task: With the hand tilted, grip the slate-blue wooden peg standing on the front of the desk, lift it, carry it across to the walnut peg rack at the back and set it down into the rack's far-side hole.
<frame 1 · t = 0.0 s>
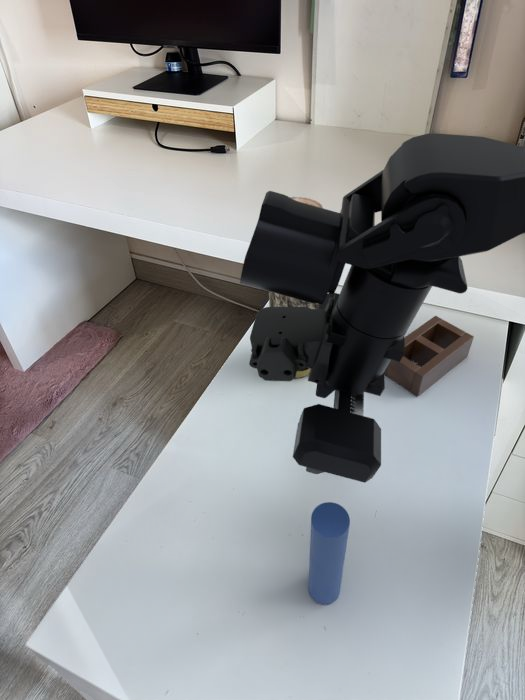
hand: (316, 431, 49), 14 cm above the table, tool pointing down, fingers open, 9 cm apart
rack: (424, 364, 74), on the table
peg: (323, 588, 51), on the table
paper tube: (294, 364, 76), on the table
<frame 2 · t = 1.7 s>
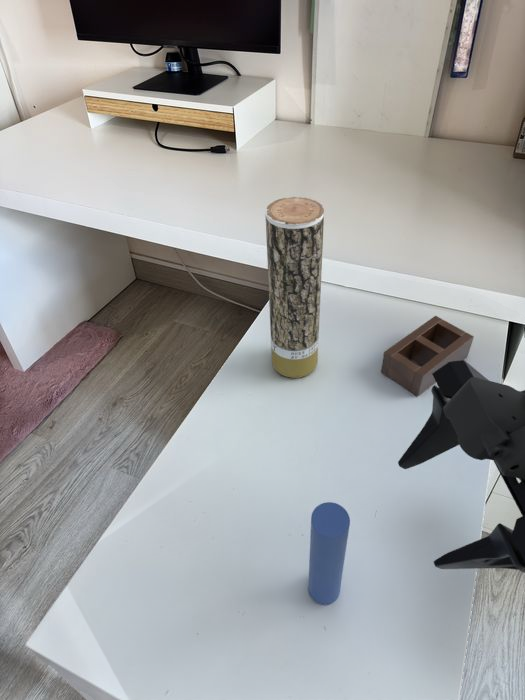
hand: (417, 512, 43), 13 cm above the table, tool tilted 45°, fingers open, 9 cm apart
nothing on the table moved.
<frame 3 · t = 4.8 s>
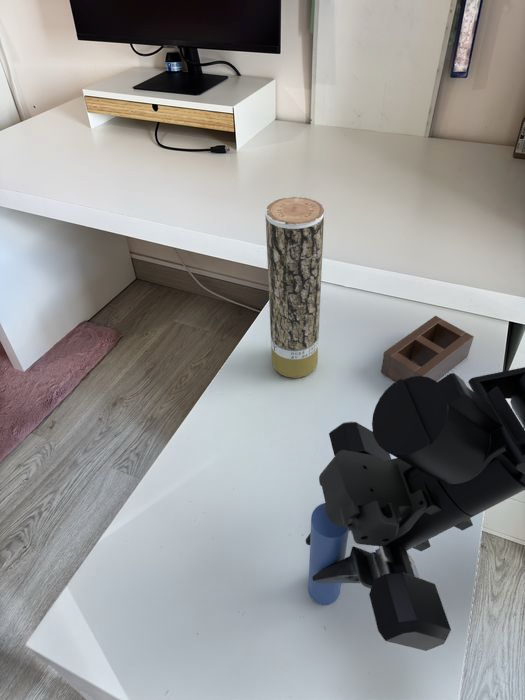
hand: (312, 561, 47), 7 cm above the table, tool tilted 45°, fingers closed on peg, 3 cm apart
peg: (323, 588, 51), on the table, touching gripper
everything else where it was.
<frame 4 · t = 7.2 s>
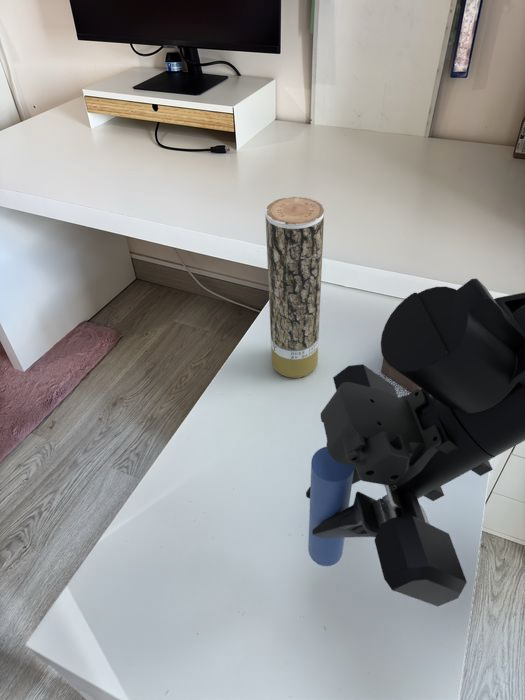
hand: (312, 515, 43), 14 cm above the table, tool tilted 45°, fingers closed on peg, 3 cm apart
peg: (325, 549, 47), point 7 cm above the table, touching gripper
everything else where it was.
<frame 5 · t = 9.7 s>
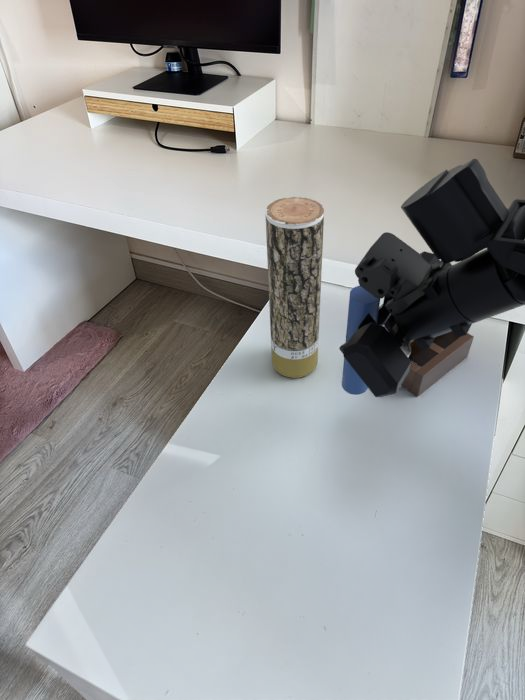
hand: (348, 342, 58), 14 cm above the table, tool tilted 45°, fingers closed on peg, 3 cm apart
peg: (354, 385, 62), point 7 cm above the table, touching gripper
everything else where it was.
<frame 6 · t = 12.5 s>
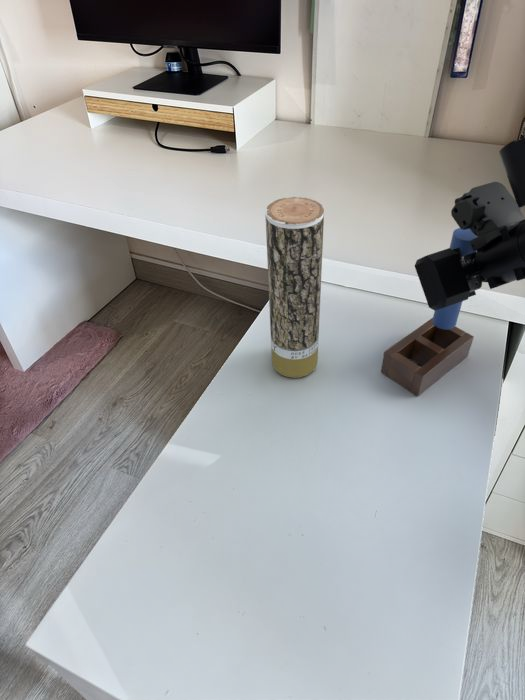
hand: (447, 278, 67), 13 cm above the table, tool tilted 45°, fingers closed on peg, 3 cm apart
peg: (444, 322, 71), point 7 cm above the table, touching gripper
everything else where it was.
when the fingers open (7 cm above the table, at t = 14.6 s): peg stays where it is, resting in rack.
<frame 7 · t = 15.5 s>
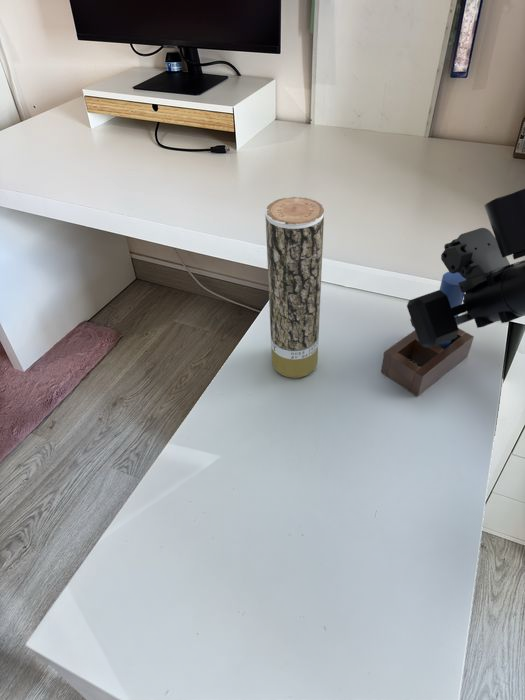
hand: (438, 312, 71), 7 cm above the table, tool tilted 45°, fingers open, 9 cm apart
peg: (435, 355, 75), resting in rack
everything else where it was.
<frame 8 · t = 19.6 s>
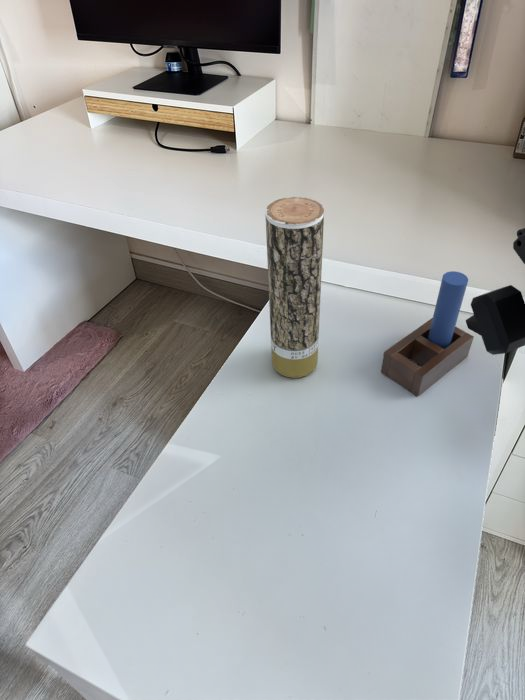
hand: (497, 312, 61), 14 cm above the table, tool tilted 45°, fingers open, 9 cm apart
nothing on the table moved.
at the end: peg 0.1 cm from the target spot in the rack, point 0.0 cm above the rack's base; peg tilted 0°; the gripper is holding nothing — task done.
